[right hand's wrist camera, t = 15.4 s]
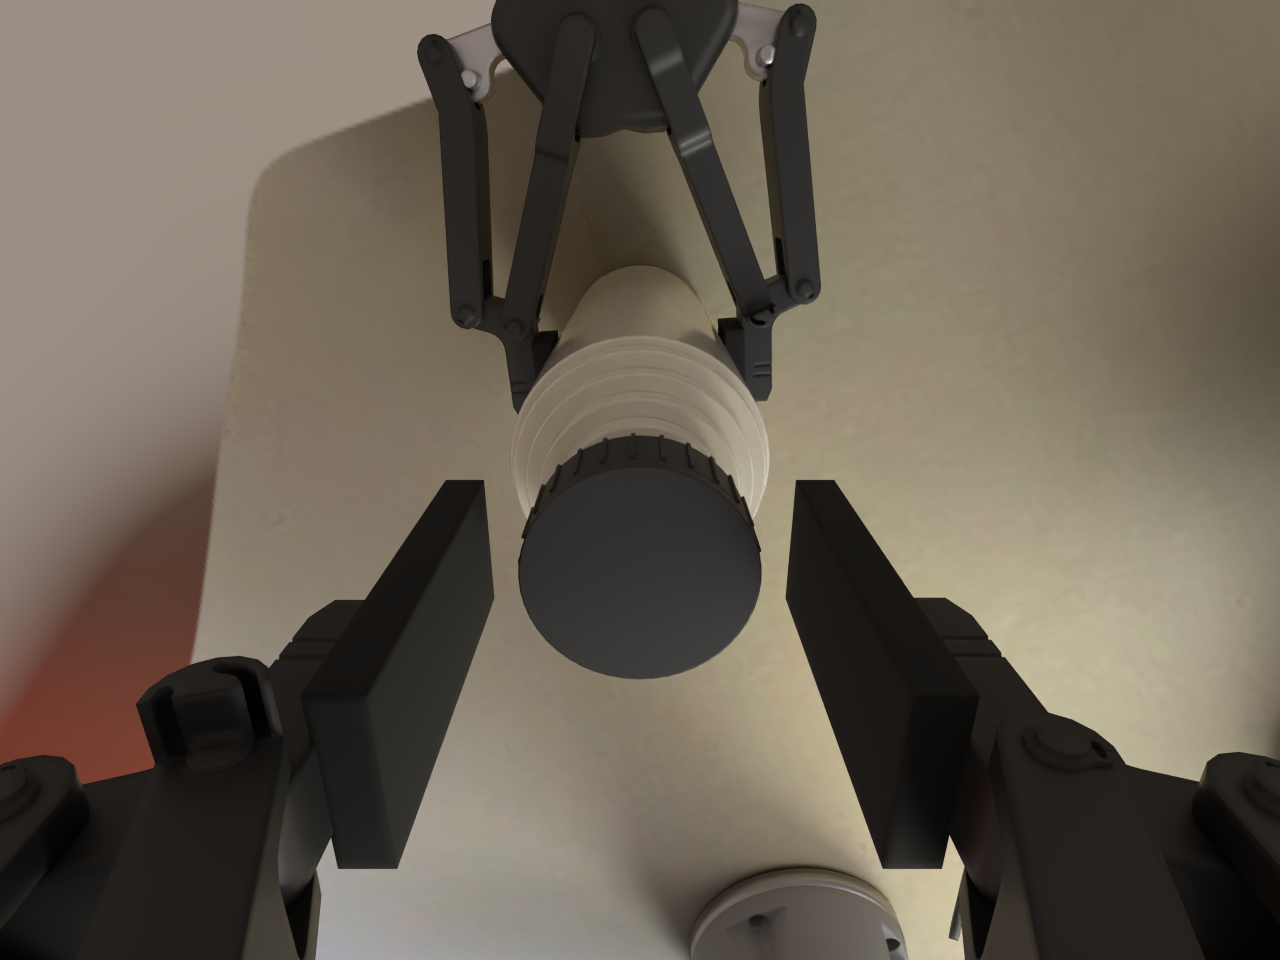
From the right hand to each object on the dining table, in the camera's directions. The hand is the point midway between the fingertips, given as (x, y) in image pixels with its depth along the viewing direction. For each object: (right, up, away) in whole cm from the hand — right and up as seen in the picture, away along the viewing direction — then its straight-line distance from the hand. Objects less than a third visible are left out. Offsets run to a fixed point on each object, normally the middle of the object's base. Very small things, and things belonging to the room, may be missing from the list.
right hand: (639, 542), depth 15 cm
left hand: (0, +1, +17) cm, 17 cm away
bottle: (0, +8, +21) cm, 23 cm away
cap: (0, -1, -1) cm, 1 cm away
